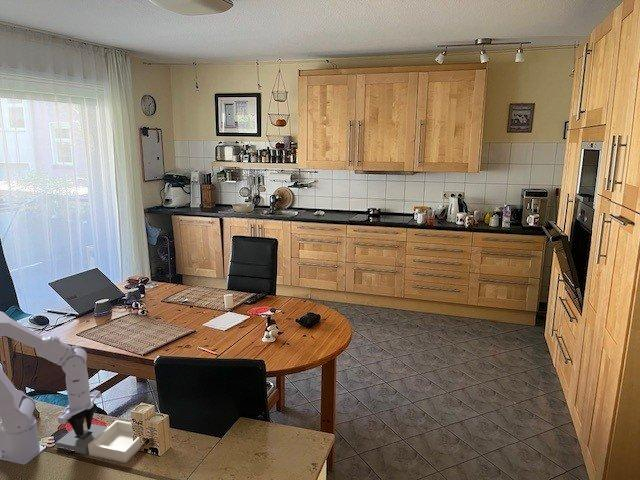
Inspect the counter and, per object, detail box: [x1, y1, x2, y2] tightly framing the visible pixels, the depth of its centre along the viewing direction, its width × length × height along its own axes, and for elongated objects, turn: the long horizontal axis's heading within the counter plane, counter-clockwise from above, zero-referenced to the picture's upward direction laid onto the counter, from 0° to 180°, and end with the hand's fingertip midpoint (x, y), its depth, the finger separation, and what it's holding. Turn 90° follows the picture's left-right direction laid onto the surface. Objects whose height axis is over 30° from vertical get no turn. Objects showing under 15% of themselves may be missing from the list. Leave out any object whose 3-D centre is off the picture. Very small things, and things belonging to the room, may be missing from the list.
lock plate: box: [55, 423, 109, 456], centre depth 137 cm, size 10×10×2 cm
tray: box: [88, 419, 141, 464], centre depth 135 cm, size 12×12×4 cm
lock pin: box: [79, 416, 88, 439], centre depth 137 cm, size 2×2×8 cm
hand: (83, 431), depth 137 cm, fingers closed on lock pin, 2 cm apart
